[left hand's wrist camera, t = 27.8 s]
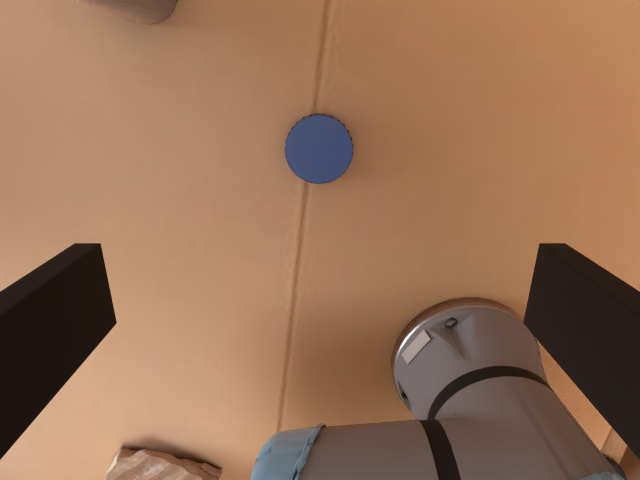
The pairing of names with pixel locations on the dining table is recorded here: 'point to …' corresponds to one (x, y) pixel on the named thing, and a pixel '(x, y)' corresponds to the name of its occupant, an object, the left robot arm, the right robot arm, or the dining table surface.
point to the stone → (157, 467)
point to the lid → (319, 148)
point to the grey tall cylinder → (136, 9)
